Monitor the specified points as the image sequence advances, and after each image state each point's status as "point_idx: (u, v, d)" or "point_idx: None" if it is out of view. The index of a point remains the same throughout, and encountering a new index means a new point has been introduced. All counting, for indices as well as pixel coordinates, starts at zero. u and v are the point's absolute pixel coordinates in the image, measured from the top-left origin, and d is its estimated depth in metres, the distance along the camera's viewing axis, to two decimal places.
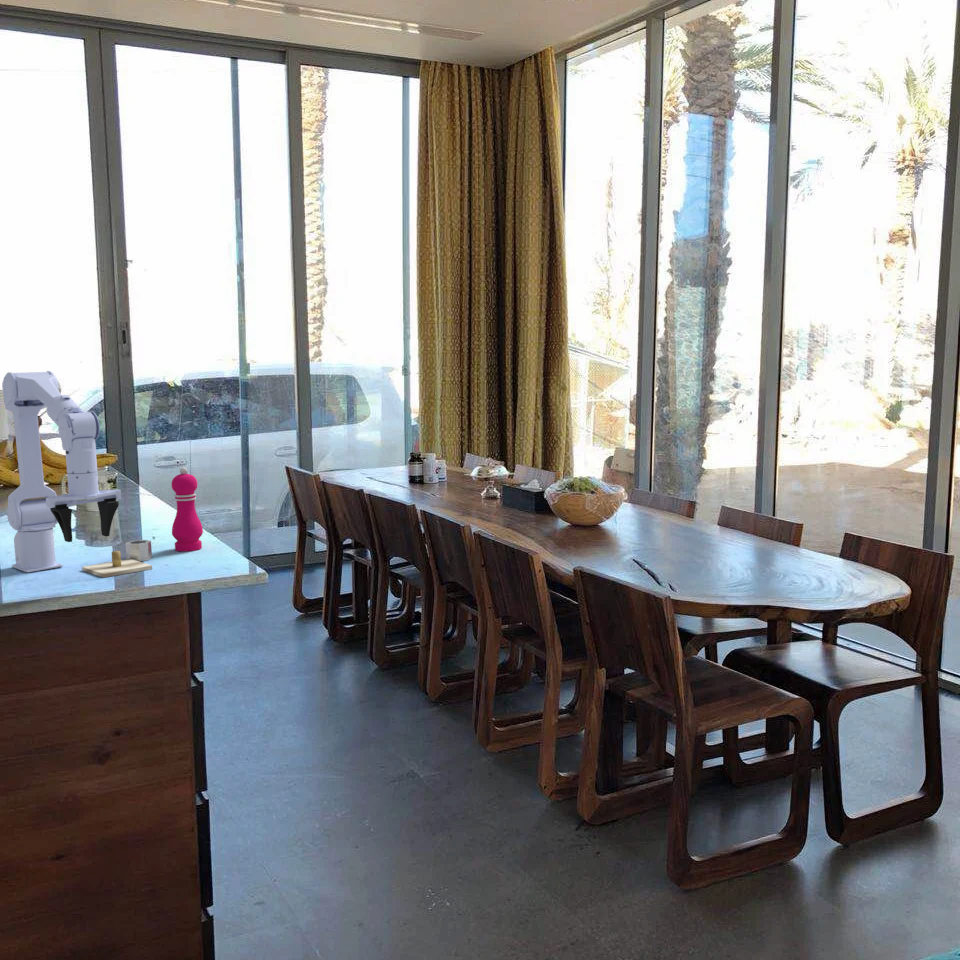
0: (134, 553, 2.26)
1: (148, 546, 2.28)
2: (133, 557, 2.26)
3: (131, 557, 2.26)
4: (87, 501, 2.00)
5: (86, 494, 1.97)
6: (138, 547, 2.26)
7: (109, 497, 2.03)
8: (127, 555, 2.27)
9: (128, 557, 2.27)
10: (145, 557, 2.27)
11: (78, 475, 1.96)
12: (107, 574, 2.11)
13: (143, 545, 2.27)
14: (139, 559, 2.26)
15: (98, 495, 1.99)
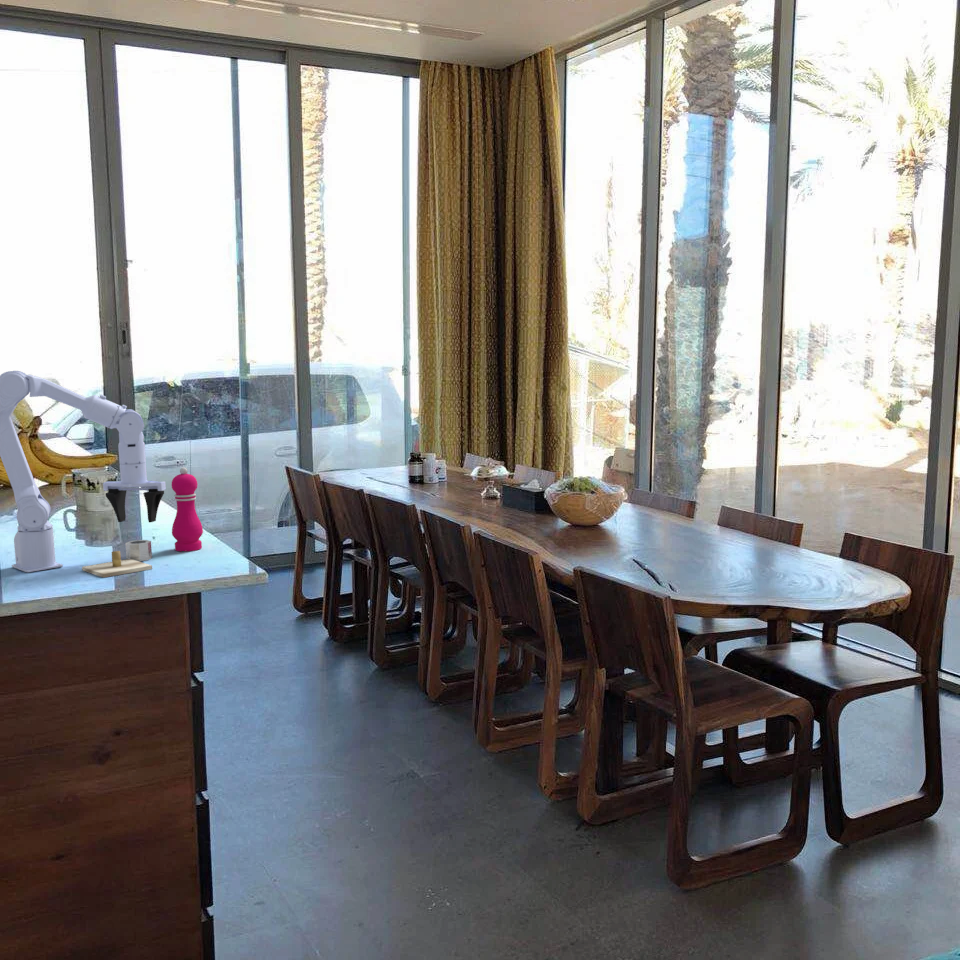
0: (134, 553, 2.26)
1: (148, 546, 2.28)
2: (133, 557, 2.26)
3: (131, 557, 2.26)
4: (135, 489, 2.26)
5: (125, 482, 2.24)
6: (138, 547, 2.26)
7: (154, 488, 2.26)
8: (127, 555, 2.27)
9: (128, 557, 2.27)
10: (145, 557, 2.27)
11: (120, 465, 2.24)
12: (107, 574, 2.11)
13: (143, 545, 2.27)
14: (139, 559, 2.26)
15: (135, 485, 2.24)
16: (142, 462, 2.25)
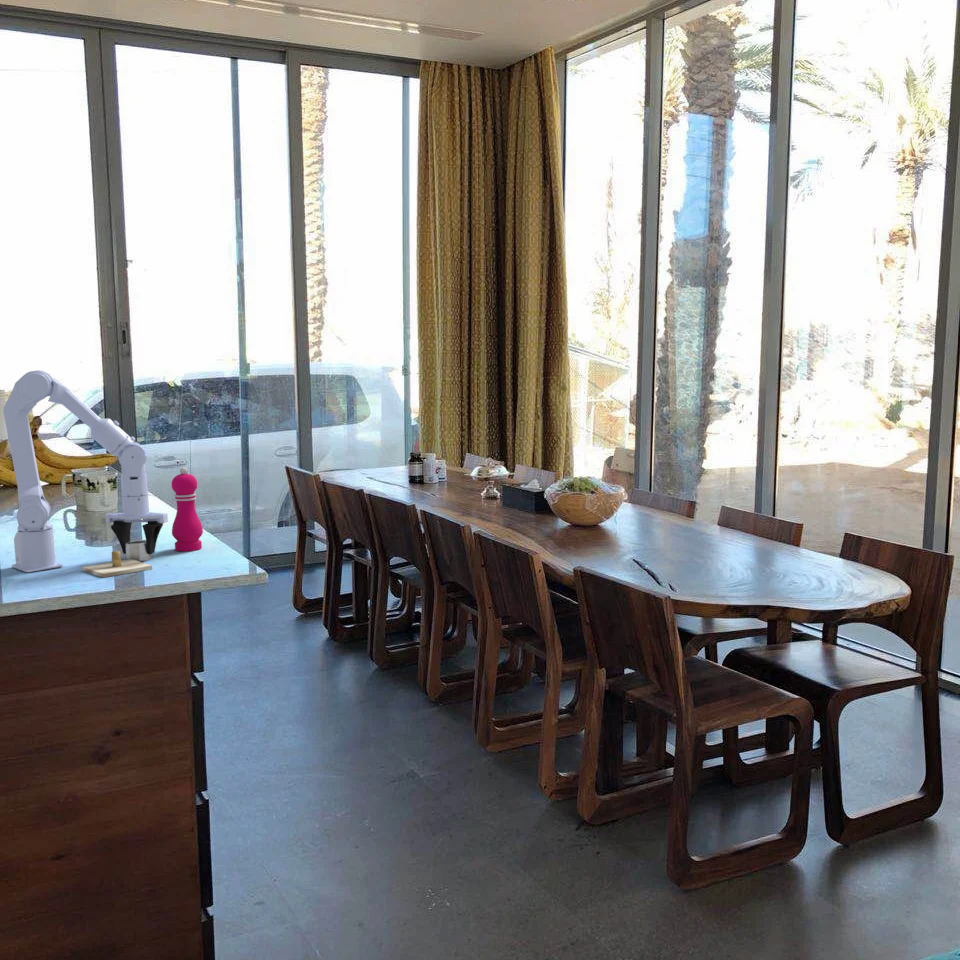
0: (134, 553, 2.26)
1: None
2: (133, 557, 2.26)
3: (131, 557, 2.26)
4: (137, 521, 2.27)
5: (127, 515, 2.25)
6: (138, 547, 2.26)
7: (156, 520, 2.27)
8: (127, 555, 2.27)
9: (128, 557, 2.27)
10: (145, 557, 2.27)
11: (123, 497, 2.25)
12: (107, 574, 2.11)
13: (143, 545, 2.27)
14: (139, 559, 2.26)
15: (138, 517, 2.25)
16: (144, 494, 2.26)
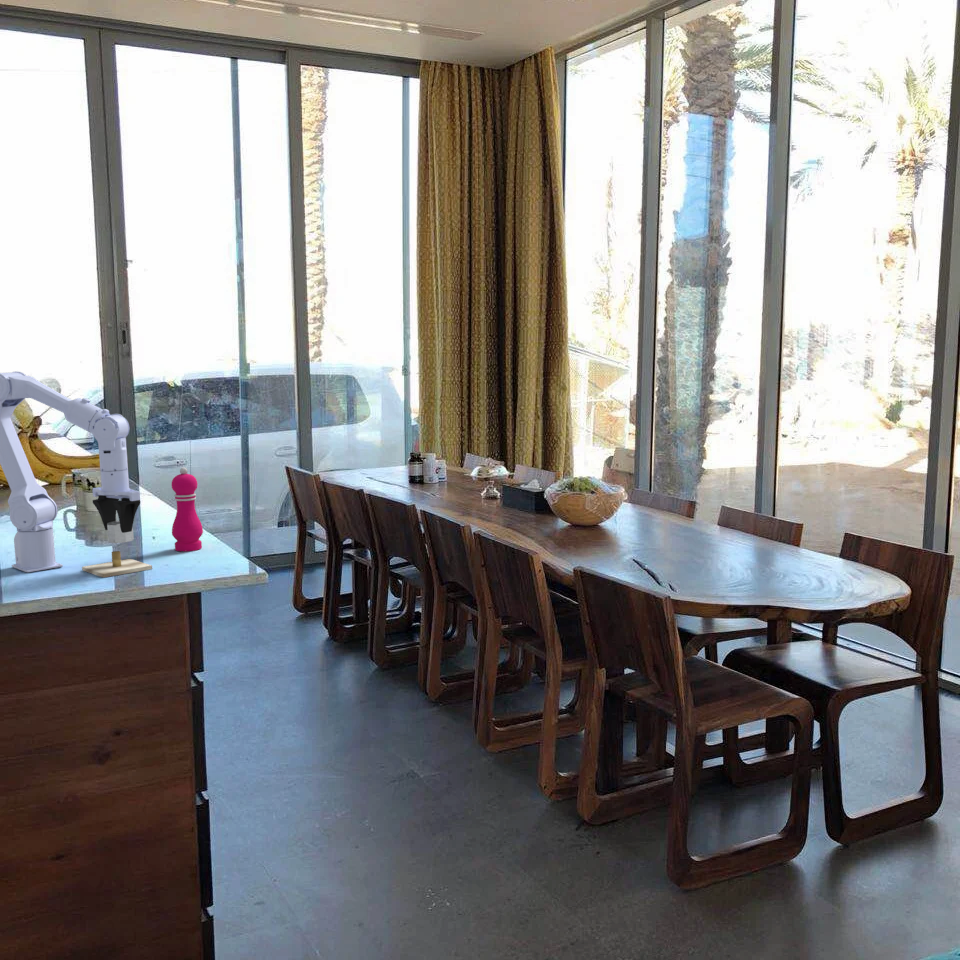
0: (111, 534, 2.17)
1: None
2: (110, 538, 2.17)
3: (109, 538, 2.18)
4: (116, 497, 2.17)
5: (102, 490, 2.16)
6: (114, 528, 2.16)
7: (128, 497, 2.15)
8: None
9: None
10: (122, 539, 2.17)
11: None
12: (107, 574, 2.11)
13: (119, 526, 2.17)
14: (115, 541, 2.17)
15: (110, 493, 2.15)
16: (119, 470, 2.15)
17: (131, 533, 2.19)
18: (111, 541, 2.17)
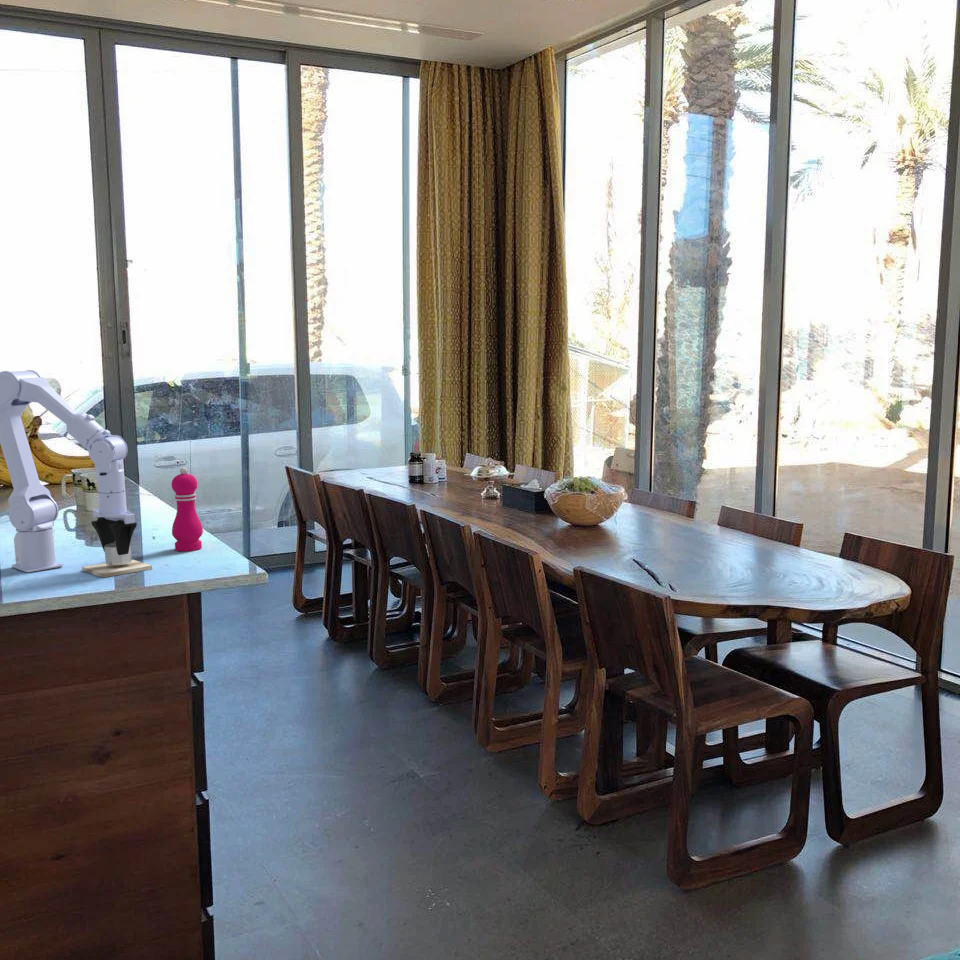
0: (108, 556, 2.16)
1: None
2: (107, 560, 2.16)
3: (106, 560, 2.16)
4: (113, 519, 2.16)
5: (99, 512, 2.15)
6: (110, 550, 2.15)
7: (124, 520, 2.13)
8: None
9: None
10: (118, 561, 2.16)
11: None
12: (107, 574, 2.11)
13: None
14: (112, 563, 2.16)
15: (106, 515, 2.13)
16: (115, 492, 2.14)
17: (128, 555, 2.17)
18: (108, 563, 2.16)
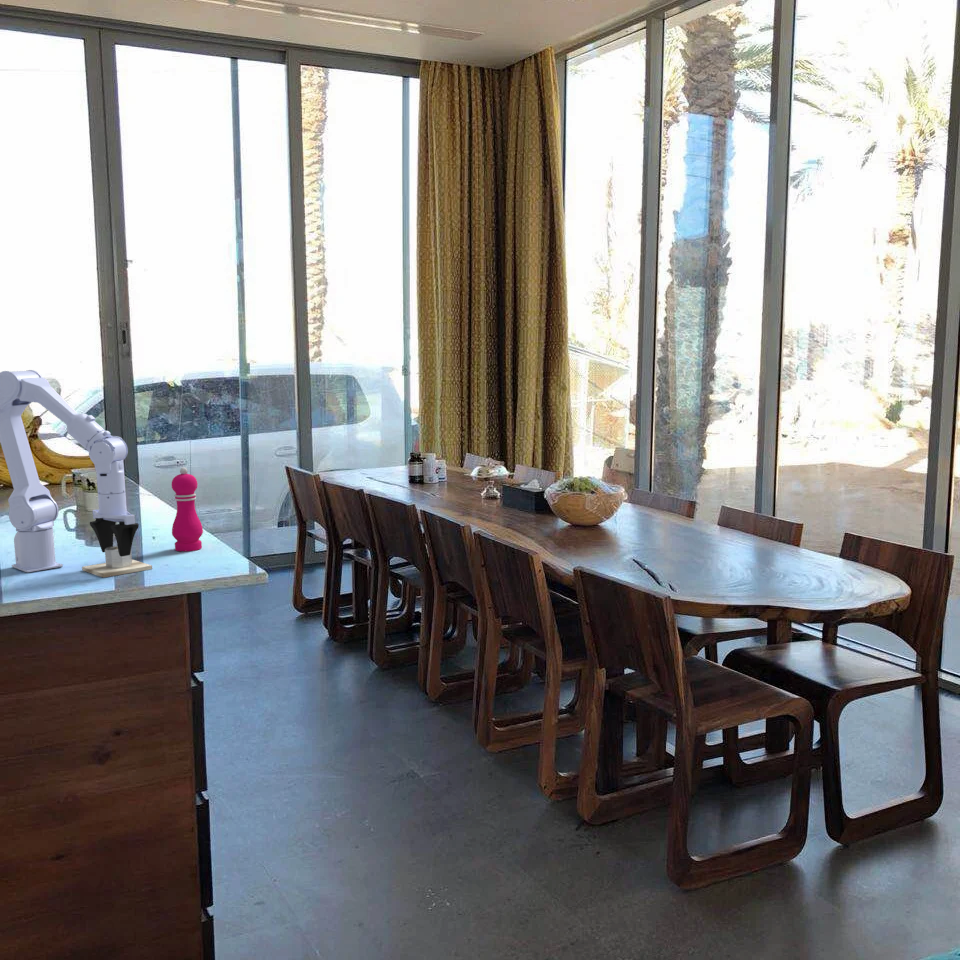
0: (108, 559, 2.16)
1: None
2: (107, 563, 2.16)
3: (106, 563, 2.17)
4: (113, 520, 2.16)
5: (99, 513, 2.15)
6: (111, 553, 2.15)
7: (124, 520, 2.13)
8: None
9: None
10: (118, 564, 2.16)
11: None
12: (107, 574, 2.11)
13: (116, 552, 2.15)
14: (112, 566, 2.16)
15: (106, 516, 2.13)
16: (115, 493, 2.14)
17: (128, 559, 2.17)
18: (108, 566, 2.16)
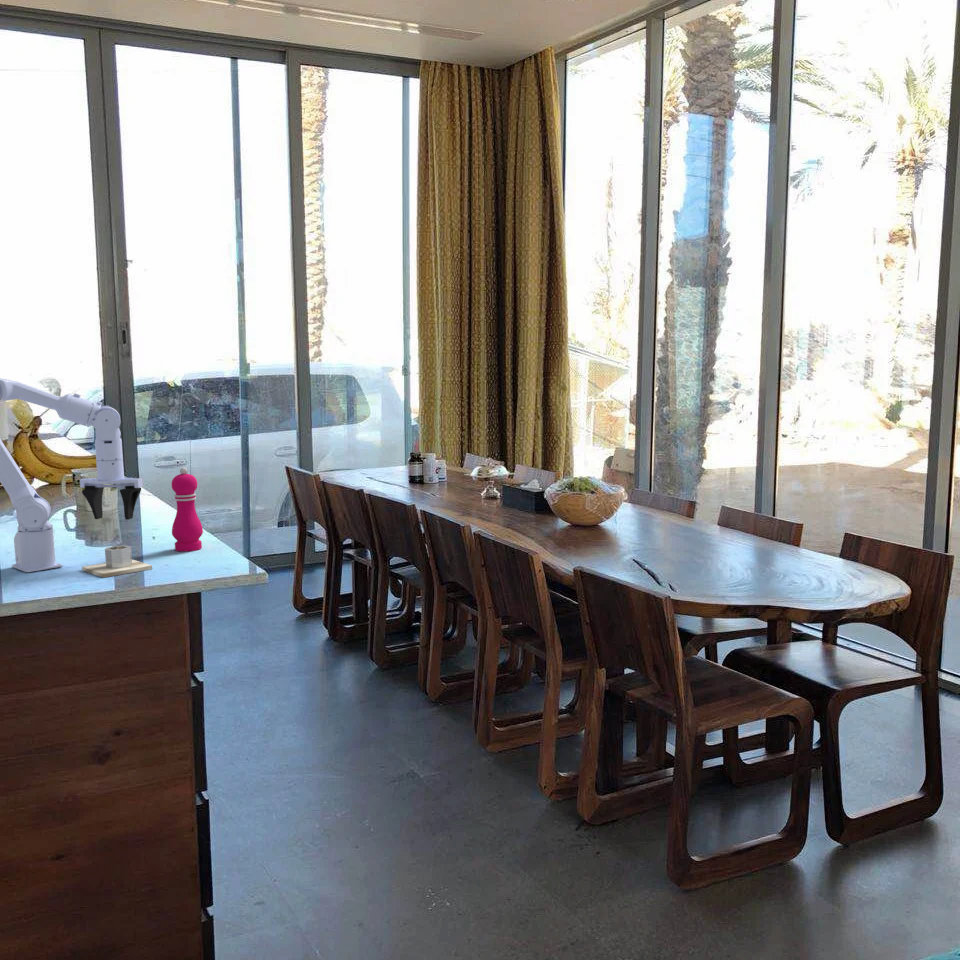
0: (108, 559, 2.16)
1: (123, 553, 2.16)
2: (107, 563, 2.16)
3: (106, 563, 2.17)
4: (112, 486, 2.25)
5: (101, 479, 2.22)
6: (111, 553, 2.15)
7: (131, 485, 2.24)
8: None
9: None
10: (118, 564, 2.16)
11: (97, 462, 2.22)
12: (107, 574, 2.11)
13: (116, 552, 2.15)
14: (112, 566, 2.16)
15: (112, 481, 2.22)
16: (119, 459, 2.23)
17: (128, 559, 2.17)
18: (108, 566, 2.16)
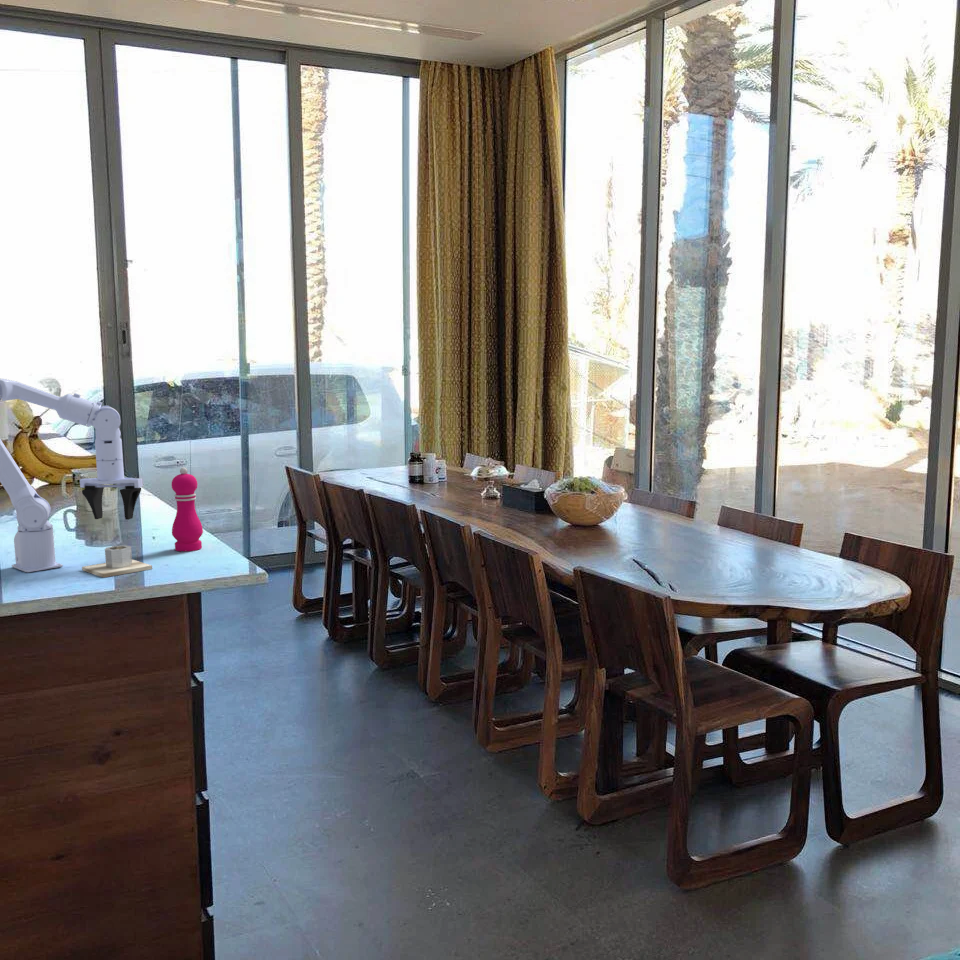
0: (108, 559, 2.16)
1: (123, 553, 2.16)
2: (107, 563, 2.16)
3: (106, 563, 2.17)
4: (112, 486, 2.25)
5: (101, 479, 2.22)
6: (111, 553, 2.15)
7: (131, 485, 2.24)
8: None
9: None
10: (118, 564, 2.16)
11: (97, 462, 2.22)
12: (107, 574, 2.11)
13: (116, 552, 2.15)
14: (112, 566, 2.16)
15: (112, 481, 2.22)
16: (119, 459, 2.23)
17: (128, 559, 2.17)
18: (108, 566, 2.16)
